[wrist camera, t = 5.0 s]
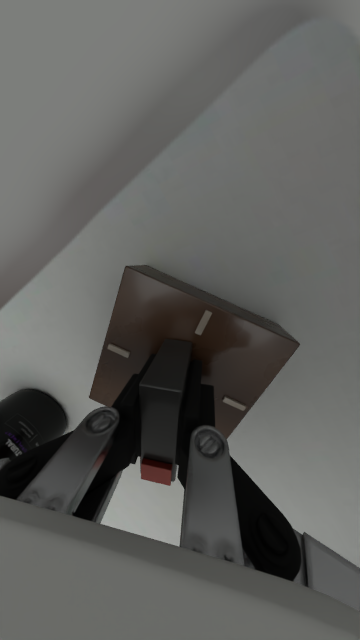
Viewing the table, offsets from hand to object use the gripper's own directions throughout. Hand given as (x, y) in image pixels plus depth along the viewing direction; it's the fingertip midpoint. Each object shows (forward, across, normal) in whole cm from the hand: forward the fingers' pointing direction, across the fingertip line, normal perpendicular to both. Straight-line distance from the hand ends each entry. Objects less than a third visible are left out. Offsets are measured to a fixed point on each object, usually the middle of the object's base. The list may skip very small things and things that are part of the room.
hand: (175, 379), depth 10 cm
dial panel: (+3, 0, 0) cm, 3 cm away
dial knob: (0, 0, 0) cm, 0 cm away
